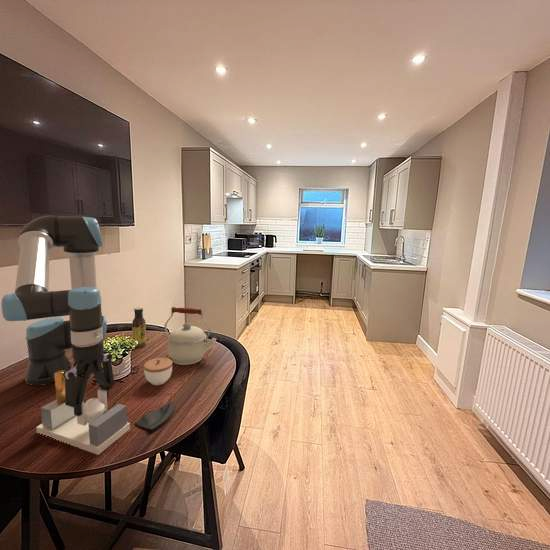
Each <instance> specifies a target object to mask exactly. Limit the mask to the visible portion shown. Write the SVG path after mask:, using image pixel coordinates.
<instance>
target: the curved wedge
mask: <svg viewBox="0 0 550 550" xmlns="http://www.w3.org/2000/svg"><path fill="white" fill-rule="evenodd" d="M175 405H176V403H175V402H173V401H169V403H167V404H166V405H163V406H161V407H160V408H157V409H154V410H152V411H150V412H148V413H146V414H144V415H142V417H141V418H140V419H138V420H137V421H136V422H135V426H137V427H139V428H140V429H143V430H147V431H150V432H151V433H154V432H155V431H157V430H158V429H159V428H162V426H164V424H166V423H167V422H168V421H169V420H170V418H171V417H172V415H173V414H174V412H175ZM172 413H173V414H172Z"/></svg>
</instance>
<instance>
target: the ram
mask: <svg viewBox="0 0 550 550" xmlns="http://www.w3.org/2000/svg"><path fill="white" fill-rule="evenodd" d="M64 371H66V370H61V371H57V372H55V373H54V376H55V383H54V385H55V396H56V397H55V398H56V399H55V400H53V401H51V402H49V403H48V404H45V405H43V406H42V407H40V412H41V415H40V416H41V422H42V423H41V424H42V425H43V427H46V428H49V429H52V430H53V429H54V428H56V427H57V426H59V425H61V424H62V423H64V422H65V421H67V420H69V419H70V418H72V417H74V416H75V414H74V407H70V406H67V405H65V378H64V376H63V372H64ZM84 398H85V397H84ZM84 398H83V403H85V399H84Z"/></svg>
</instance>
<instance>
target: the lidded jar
mask: <svg viewBox="0 0 550 550" xmlns="http://www.w3.org/2000/svg"><path fill="white" fill-rule="evenodd" d="M173 363H174V362H173V361H172V358H168V357H155V358H152V359H149V360H147V361H145V363H143V371H144V372H143V374H144V376H145V379H146V380H147V382H149V383H150V384H151V385H153V386H160V385H164V384H165V383H166V382H167V381H168V380H169V379H170V377H171V376H172V373H173Z"/></svg>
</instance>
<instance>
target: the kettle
mask: <svg viewBox="0 0 550 550" xmlns="http://www.w3.org/2000/svg"><path fill="white" fill-rule="evenodd" d="M170 309H171V315H170V317H169V318H168V319H167V320H166V322H165V323H164V331H165V335H166V339H167V341H168V342H167V345H166V353H167V355H168V356H169V357H170V359H171V360H172V362H173V363H174V364H176V365H181V366H189V365H194V364H196V363H199V362H200V361H202V359H203V357H204V355H205V354H206V353H207V352H208V351H209V350H211V348H212V346H213V345H215V344H214V343H216V340H217V338H216V337H212V338H211V340H210V341H209V340H208V338H209V335H210V333H211V327H210V324H209V323H208V321H207V320H206V319H205V318H204V316H203V315H204V313H203V312H204V311H203V308H199V309H197V308H192V307H191V308H190V307H175V306H172V307H171V308H170ZM174 313H177V314H178V313H179V314H188V315H189V314H190V315H196V314H198V315H200V318H201V320H202V321H203V322H204V324H205V325H206V326H207V328H208V333H205V331H204V330H202V329H201V328H200V327H198V326H196V325H195V326H193V325H192V324H191V322H188V321H186V322H185V323H184V324H183V325H182V326H179V327H178V328H175V329H173V330H172V331H171V333H170V334H169V331H168V328H167V325H168V322H169V320H171V318H172V317H173V316H174Z"/></svg>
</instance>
